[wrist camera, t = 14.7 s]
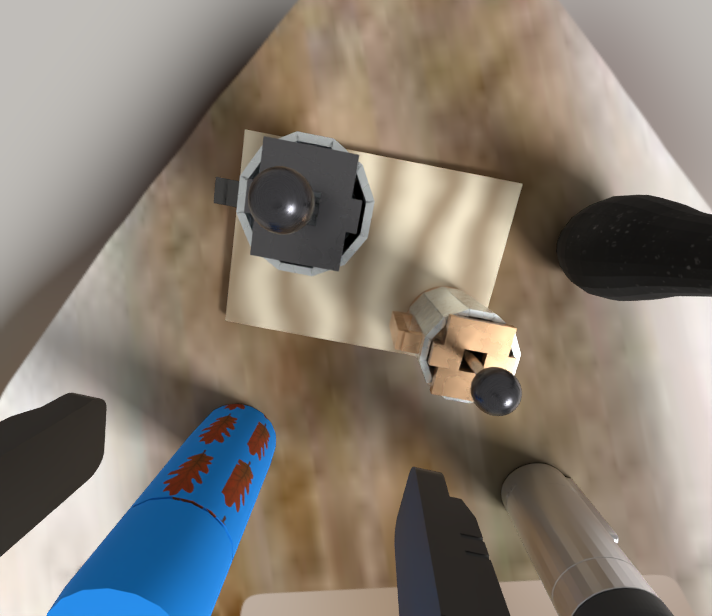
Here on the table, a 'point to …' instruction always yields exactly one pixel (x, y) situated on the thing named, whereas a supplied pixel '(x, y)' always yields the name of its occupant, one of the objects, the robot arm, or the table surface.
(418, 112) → the table surface
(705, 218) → the bottle
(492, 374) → the copper plunger
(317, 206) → the steel plunger
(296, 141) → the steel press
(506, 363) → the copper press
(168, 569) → the thermos
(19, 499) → the robot arm
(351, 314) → the board
